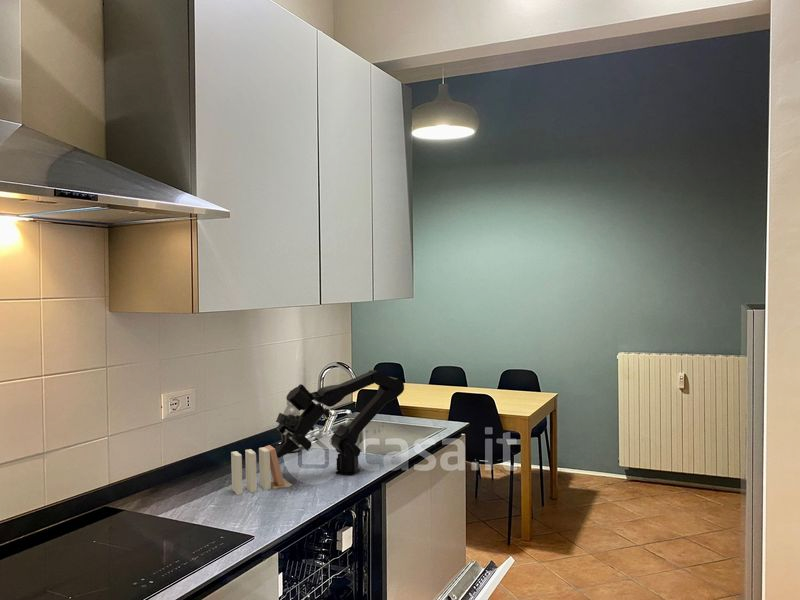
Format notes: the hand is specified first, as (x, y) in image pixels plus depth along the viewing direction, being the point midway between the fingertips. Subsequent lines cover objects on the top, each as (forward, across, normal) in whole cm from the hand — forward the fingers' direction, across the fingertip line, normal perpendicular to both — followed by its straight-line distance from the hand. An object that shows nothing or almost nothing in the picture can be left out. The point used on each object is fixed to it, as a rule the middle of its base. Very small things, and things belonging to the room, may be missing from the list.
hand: (275, 457), depth 203 cm
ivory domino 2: (+12, 0, +1) cm, 12 cm away
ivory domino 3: (+9, 0, +4) cm, 10 cm away
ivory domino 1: (+15, 0, -2) cm, 16 cm away
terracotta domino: (+5, 0, +6) cm, 8 cm away
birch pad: (+6, 0, +7) cm, 9 cm away
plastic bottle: (-7, -36, +20) cm, 42 cm away
